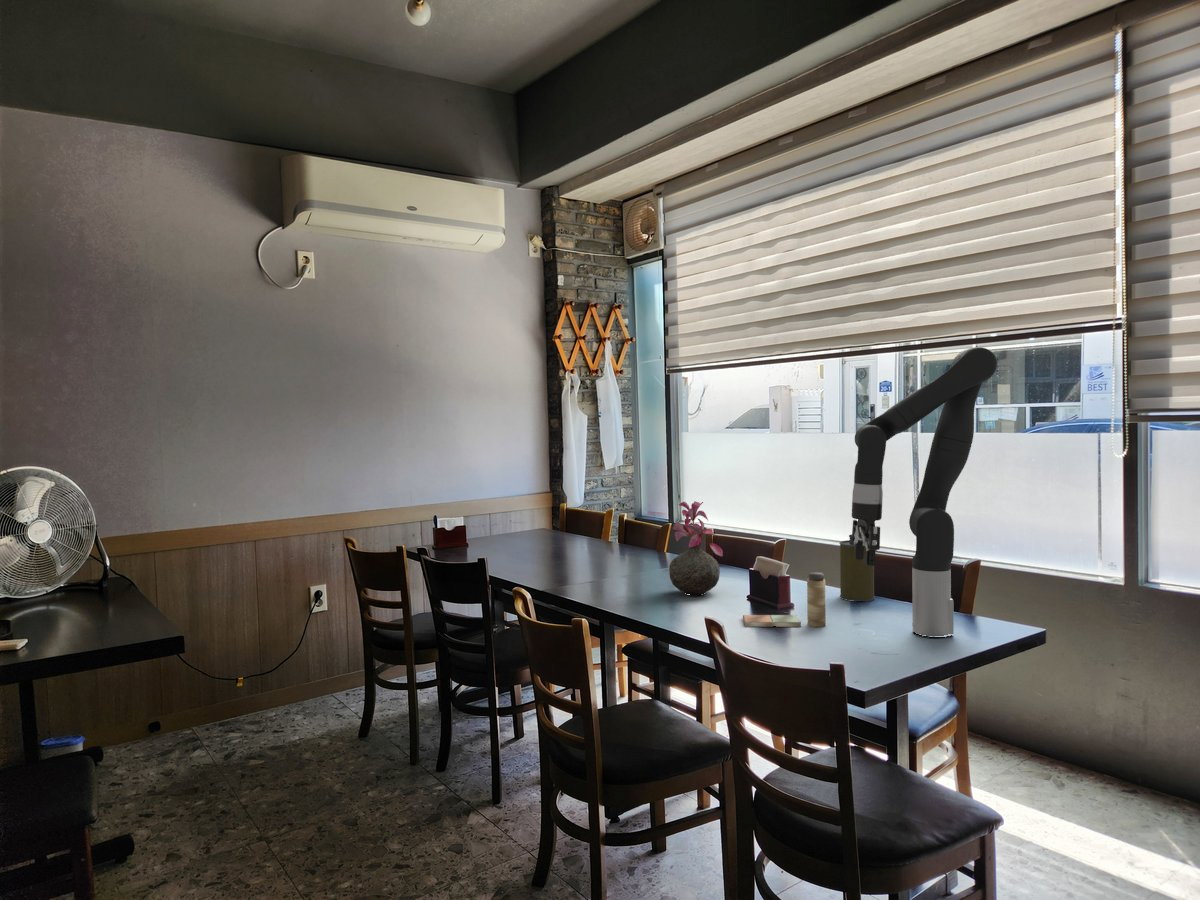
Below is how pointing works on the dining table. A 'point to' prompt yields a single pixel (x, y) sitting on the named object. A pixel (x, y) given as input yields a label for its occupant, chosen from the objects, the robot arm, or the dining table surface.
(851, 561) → the canister
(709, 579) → the vase
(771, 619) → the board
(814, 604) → the pepper mill
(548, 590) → the dining table surface
